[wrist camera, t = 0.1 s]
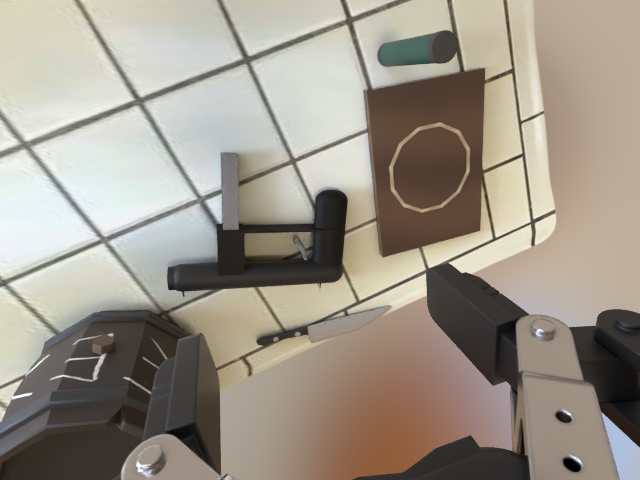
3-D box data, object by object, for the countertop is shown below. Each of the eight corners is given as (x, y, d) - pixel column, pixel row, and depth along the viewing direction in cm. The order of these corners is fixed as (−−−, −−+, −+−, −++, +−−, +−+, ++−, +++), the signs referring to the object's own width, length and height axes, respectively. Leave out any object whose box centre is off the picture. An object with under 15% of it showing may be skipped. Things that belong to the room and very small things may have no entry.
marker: (375, 44, 38) (431, 32, 29) (396, 40, 39) (458, 28, 29) (378, 68, 39) (431, 65, 30) (398, 65, 40) (457, 60, 30)
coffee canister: (208, 295, 45) (206, 394, 31) (203, 410, 51) (199, 535, 37) (30, 296, 39) (-70, 416, 25) (50, 423, 46) (-23, 575, 32)
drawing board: (363, 90, 40) (367, 90, 39) (479, 68, 42) (485, 67, 41) (379, 254, 48) (383, 257, 47) (475, 228, 51) (480, 231, 50)
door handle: (156, 153, 35) (168, 306, 40) (357, 159, 40) (344, 294, 45) (161, 150, 38) (171, 292, 43) (346, 156, 43) (336, 282, 48)
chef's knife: (391, 321, 53) (391, 304, 52) (394, 326, 52) (395, 309, 51) (258, 353, 50) (255, 336, 48) (259, 359, 49) (256, 342, 47)
